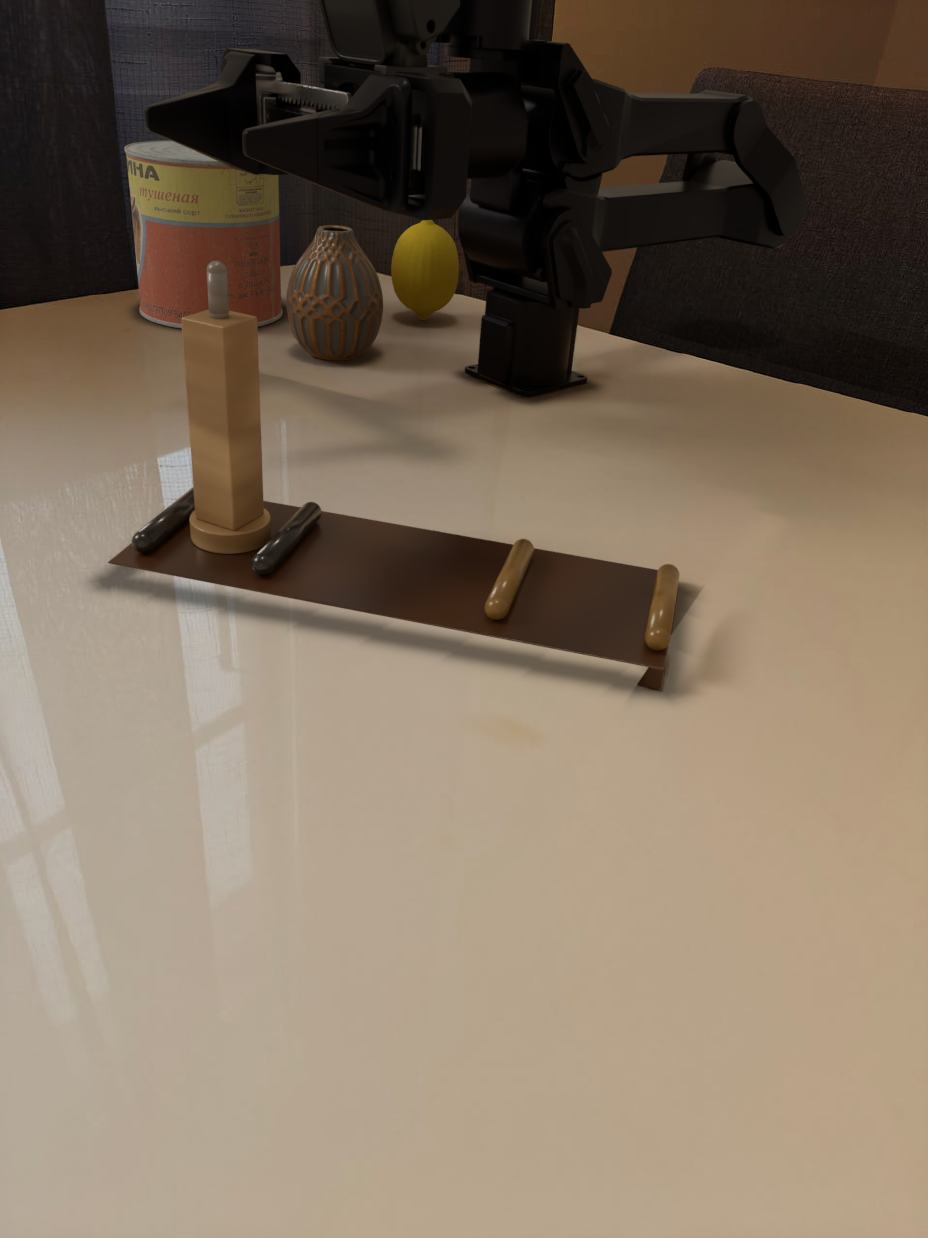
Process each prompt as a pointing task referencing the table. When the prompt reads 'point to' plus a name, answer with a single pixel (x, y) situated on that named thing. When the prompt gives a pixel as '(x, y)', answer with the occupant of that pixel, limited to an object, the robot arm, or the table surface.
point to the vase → (334, 297)
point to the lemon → (425, 268)
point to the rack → (433, 580)
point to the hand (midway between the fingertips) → (192, 129)
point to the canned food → (202, 233)
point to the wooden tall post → (224, 424)
